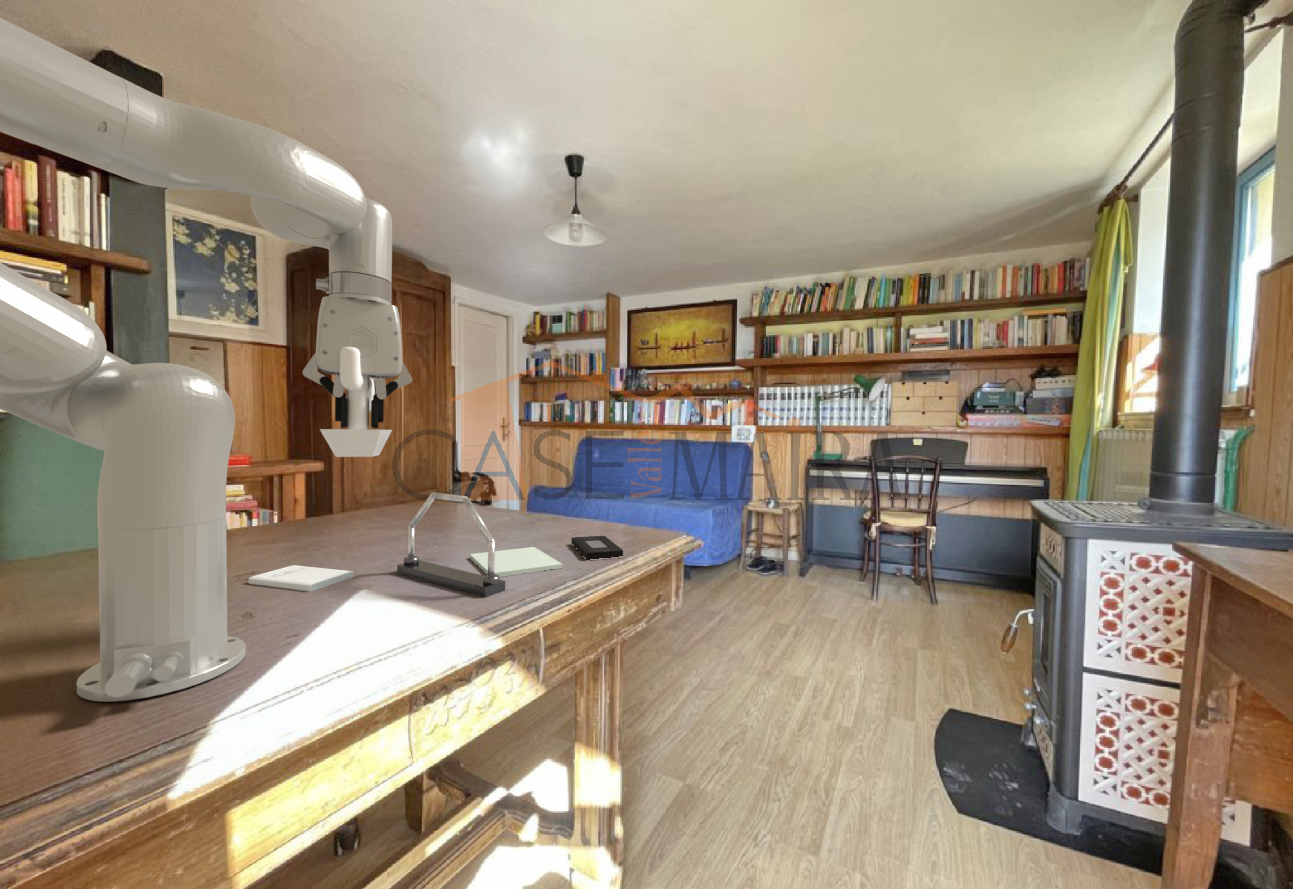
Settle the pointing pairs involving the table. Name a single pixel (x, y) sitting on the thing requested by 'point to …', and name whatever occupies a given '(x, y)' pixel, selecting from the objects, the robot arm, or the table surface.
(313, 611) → the table surface
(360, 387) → the figurine
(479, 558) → the mat
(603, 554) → the vhs tape
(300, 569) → the external hard drive
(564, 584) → the table surface
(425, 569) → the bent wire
